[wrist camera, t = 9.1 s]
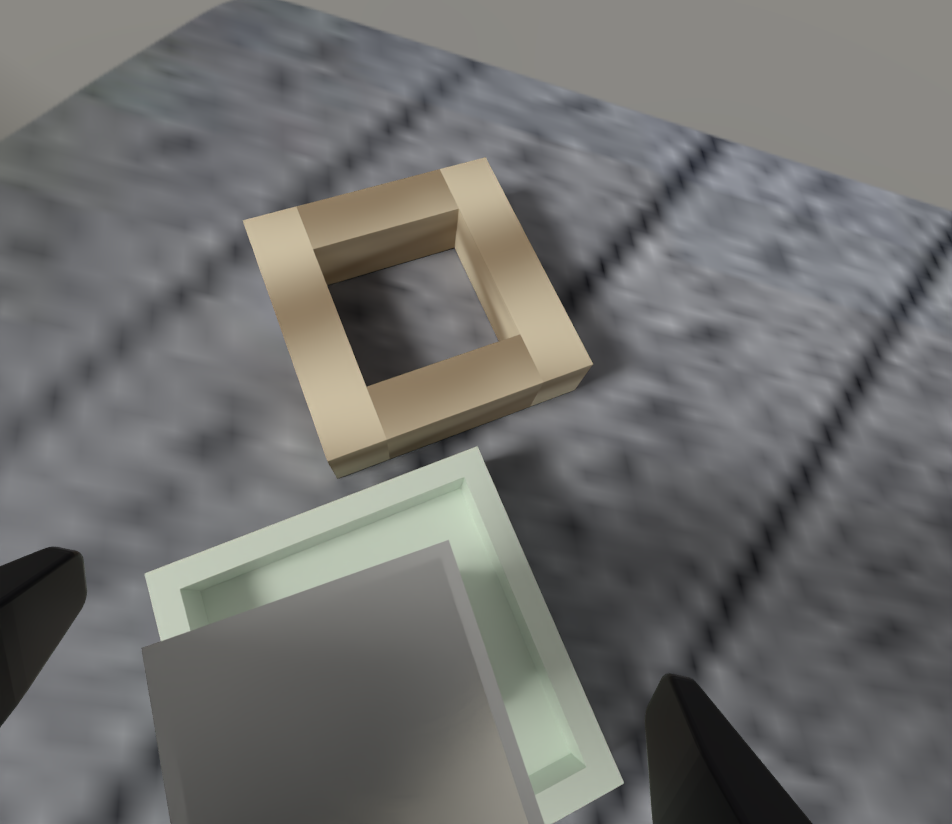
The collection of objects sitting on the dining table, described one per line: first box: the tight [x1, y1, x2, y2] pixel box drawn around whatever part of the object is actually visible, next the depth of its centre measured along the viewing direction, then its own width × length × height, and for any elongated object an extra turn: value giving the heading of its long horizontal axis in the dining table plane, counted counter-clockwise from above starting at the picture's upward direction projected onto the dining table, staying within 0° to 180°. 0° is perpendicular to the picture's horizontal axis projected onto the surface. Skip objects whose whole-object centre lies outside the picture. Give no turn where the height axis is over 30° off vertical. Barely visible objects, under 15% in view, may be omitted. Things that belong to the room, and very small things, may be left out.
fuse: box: [141, 540, 544, 824], centre depth 13 cm, size 4×4×11 cm
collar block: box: [243, 157, 593, 479], centre depth 22 cm, size 10×10×2 cm
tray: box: [145, 447, 624, 824], centre depth 17 cm, size 11×11×2 cm
